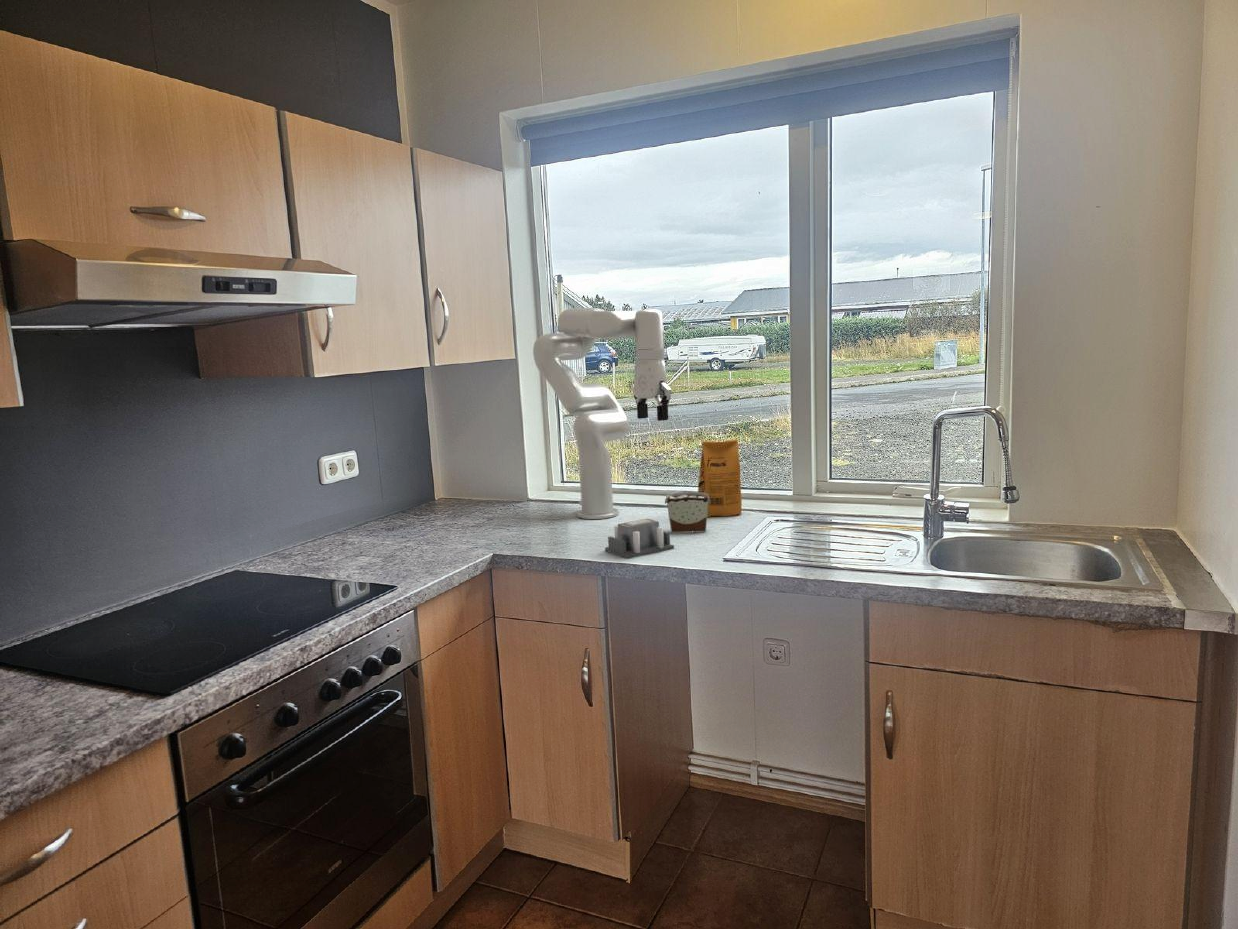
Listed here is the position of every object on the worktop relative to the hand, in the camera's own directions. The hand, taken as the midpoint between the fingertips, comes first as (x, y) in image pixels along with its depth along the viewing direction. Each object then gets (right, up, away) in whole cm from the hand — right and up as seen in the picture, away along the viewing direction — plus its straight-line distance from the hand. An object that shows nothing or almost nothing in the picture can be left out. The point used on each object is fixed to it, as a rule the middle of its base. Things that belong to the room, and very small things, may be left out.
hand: (652, 419), depth 220 cm
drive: (-4, -33, -19) cm, 38 cm away
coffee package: (+21, -27, +19) cm, 39 cm away
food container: (+10, -30, 0) cm, 32 cm away
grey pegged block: (-4, -34, -19) cm, 39 cm away
